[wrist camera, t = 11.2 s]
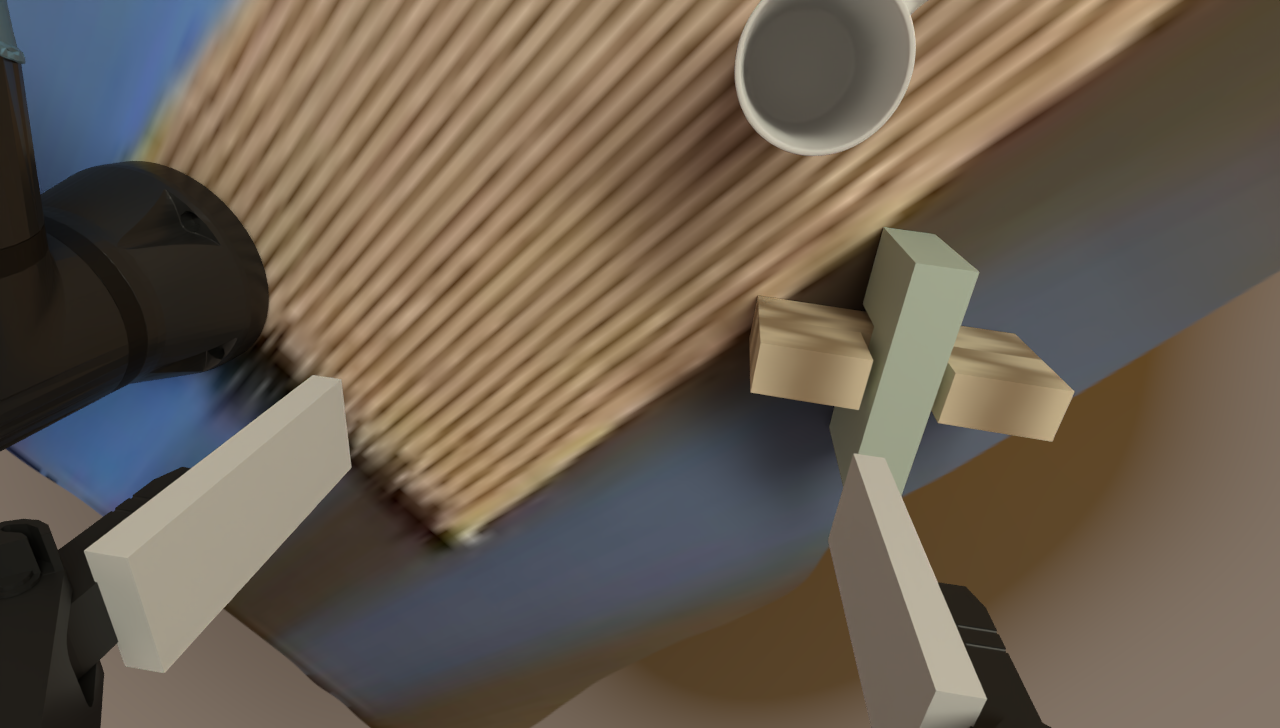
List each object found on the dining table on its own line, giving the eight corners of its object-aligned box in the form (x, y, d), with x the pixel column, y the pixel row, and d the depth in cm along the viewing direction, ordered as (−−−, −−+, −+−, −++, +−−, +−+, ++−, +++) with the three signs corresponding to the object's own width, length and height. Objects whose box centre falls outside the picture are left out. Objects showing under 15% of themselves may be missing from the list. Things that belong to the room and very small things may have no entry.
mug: (777, 155, 38) (791, 189, 27) (713, 53, 36) (700, 46, 25) (942, 41, 34) (1035, 27, 23) (880, -79, 32) (949, -154, 21)
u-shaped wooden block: (749, 338, 42) (750, 392, 35) (757, 295, 41) (760, 342, 34) (998, 376, 41) (1051, 441, 34) (1014, 333, 40) (1074, 391, 33)
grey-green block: (829, 426, 44) (845, 495, 37) (883, 227, 38) (915, 263, 31) (873, 434, 44) (898, 505, 37) (934, 234, 38) (979, 272, 31)
